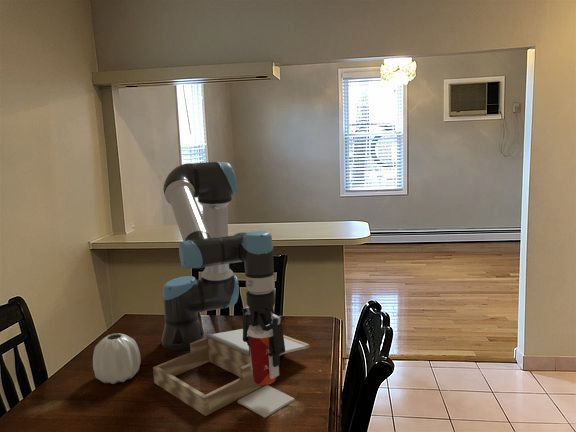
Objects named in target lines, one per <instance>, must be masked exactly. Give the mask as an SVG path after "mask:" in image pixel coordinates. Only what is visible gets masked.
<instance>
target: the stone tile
mask: <svg viewBox="0 0 576 432" xmlns="http://www.w3.org/2000/svg"><path fill="white" fill-rule="evenodd" d="M294 401H295V397H293V396H290V395H288V394H287V393H285V392H282V391H280V390H279V389H277V388H274V387H273V386H270V385H269V384H268V385H263V386H262V387H260V388H258V389H256V390H254V391H253V392H251V393H249V394H247V395H245V396H243V397H241V398H239V399H237V404H239V405H241V406H243V407H245V408H247V409H248V410H250V411H252V412H254V413H255V414H257V415H259V416H261V417H262V418H264V419H265V418H267V417H269V416H271V415H273V414H274V413H275V412H278V411H279V410H280V409H283V408H284V407H286V406H287V405H290V404H291V403H293V402H294Z"/></svg>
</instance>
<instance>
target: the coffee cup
mask: <svg viewBox="0 0 576 432" xmlns="http://www.w3.org/2000/svg"><path fill="white" fill-rule="evenodd" d="M268 325H270V324H268ZM268 325H266V326H268ZM247 334H248V335H249V343H250V352H251V361H252V369H253V377H254V382H255V383H257V384H259V385H263V386H266V385H268V386H269V385H271V384H274V383H275V381H276V380H277V377H275V378H273V379H270V372H269V354H271V352H270V349H269V337H273V330H272V329H271V330H268V331H266V330H265V331H264V330H262V327H261V325H260V324H258V325H256V326H252V325H250V326H249V329H248V331H247ZM274 350H275V349H274Z"/></svg>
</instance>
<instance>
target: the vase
mask: <svg viewBox="0 0 576 432" xmlns="http://www.w3.org/2000/svg"><path fill="white" fill-rule="evenodd" d="M92 354H93V356H92V369H93V372H94V377H95V378H96V379H97V380H99V381H100V382H102V383H104V384H112V385H115V384H118V383H124V382H126V380H130V379H133V377H134V376H135V375H136V374H137V373H138V372H139V370H140V365H141V361H142V360H141V353H140V349H139V346H138V343H137V342H136V340H135V339H134V338H132V337H131V336H129V335H127V334H125V333H119V332H118V333H112V334H108V335H107V336H105V337H103V338H102V339H101V340H99V342H98V343H96V345H95V346H94V349H93V353H92Z"/></svg>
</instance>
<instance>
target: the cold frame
mask: <svg viewBox="0 0 576 432" xmlns="http://www.w3.org/2000/svg"><path fill="white" fill-rule="evenodd" d="M189 350H190V351H189V352H188V353H186V354H185V353H184V354H182V355H180V356H178V357H175V358H173V359H170V360H168V361H166V362H165V361H164V362H163V363H160V364H158V365H155V366H153V367H152V370H153V372H152V373H153V382H154V384H156V385H157V386H158V387H160V388H161V389H163V390H165V391H166V392H168V393H169V394H171V395H172V396H174V397H175V398H176V399H178V400H180V401H181V402H183V403H185V404H186V405H187V406H189V407H191V408H193V409H194V410H195V411H197V412H199V413H200V414H202V415H203V416H205V417H207V416H208V415H210V414H212V413H215V412H216V411H217V410H221V409H222V408H223V407H226V406H228V405H230V404H231V403H233V402H236V401H238V400H239V399H241V398H243V397H245V396H247V395H249V394H251V393H253V392H255V391H257V390H258V389H260V388H262V387H264V385H259V384H257V383H255V382H254V377H253V370H251V363H250V356H248V355H246V354H243V353H241V352H239V351H237V350H234V349H232V348H230V347H228V346H225V345H223V344H221V343H219V342H216V341H214V340H212V339H210V338H207V336H204V338H203V339H200V340H197V341H195V342H192V343H190V349H189ZM209 362H210V363H211V364H213V365H215V366H217V367H220V368H221V369H223V370H224V371H227V372H230V373H231V374H232V375H234V376H237V377H238V378H237V379H235V380H233V381H231V382H228V383H227V384H224V385H223V386H220V387H218V388H216V389H214V390H212V391H209V393H207V394H205V393H203V392H201V391H199V390H198V389H196V388H195V387H193V386H191V385H189V384H188V383H186V382H185V381H183V380H181V379H180V378H178V377H176V376H179V375H181V374H184V373H186V372H188V371H190V370H193V369H195V368H197V367H200V366H202V365H205V364H207V363H209Z"/></svg>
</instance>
